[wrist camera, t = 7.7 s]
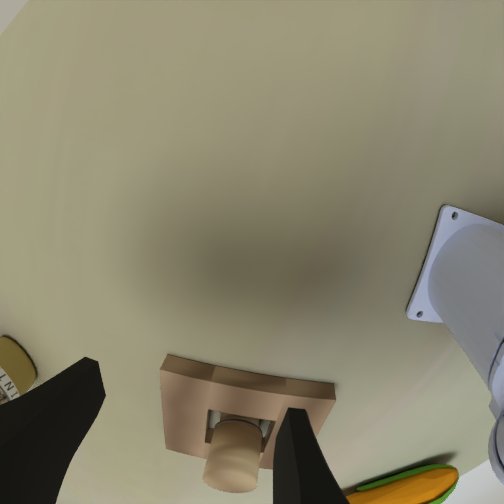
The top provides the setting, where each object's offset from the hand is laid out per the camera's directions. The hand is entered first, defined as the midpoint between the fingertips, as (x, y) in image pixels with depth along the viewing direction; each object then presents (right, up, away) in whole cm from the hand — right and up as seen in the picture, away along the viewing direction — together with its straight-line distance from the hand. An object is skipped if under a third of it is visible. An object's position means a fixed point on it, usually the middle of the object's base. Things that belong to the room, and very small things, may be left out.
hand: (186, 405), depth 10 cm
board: (+1, -9, +14) cm, 17 cm away
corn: (+20, -25, +18) cm, 36 cm away
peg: (+1, -9, +14) cm, 16 cm away
